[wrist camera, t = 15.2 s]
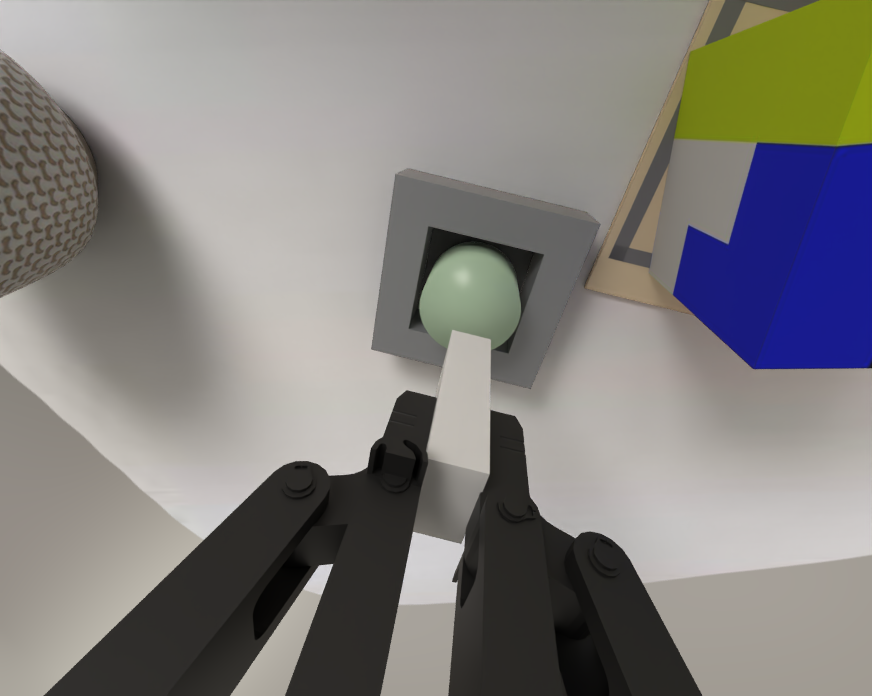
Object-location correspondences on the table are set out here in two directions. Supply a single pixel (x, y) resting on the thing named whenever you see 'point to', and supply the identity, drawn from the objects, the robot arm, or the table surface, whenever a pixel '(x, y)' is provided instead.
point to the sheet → (665, 168)
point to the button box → (493, 221)
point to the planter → (40, 182)
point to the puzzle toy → (776, 190)
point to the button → (471, 294)
